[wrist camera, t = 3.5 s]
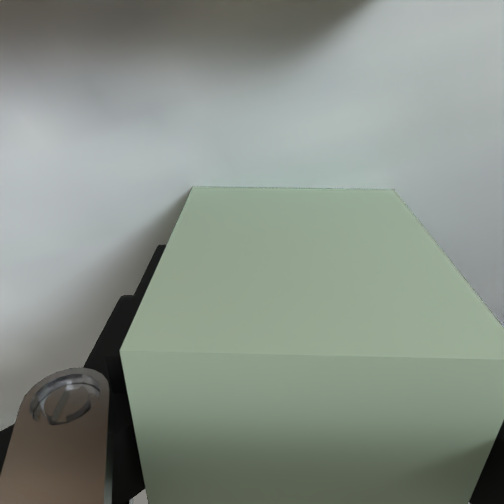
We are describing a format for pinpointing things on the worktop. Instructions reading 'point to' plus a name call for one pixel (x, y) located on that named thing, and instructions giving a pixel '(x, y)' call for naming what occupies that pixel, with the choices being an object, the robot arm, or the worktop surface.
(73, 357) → the worktop surface
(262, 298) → the sage block
